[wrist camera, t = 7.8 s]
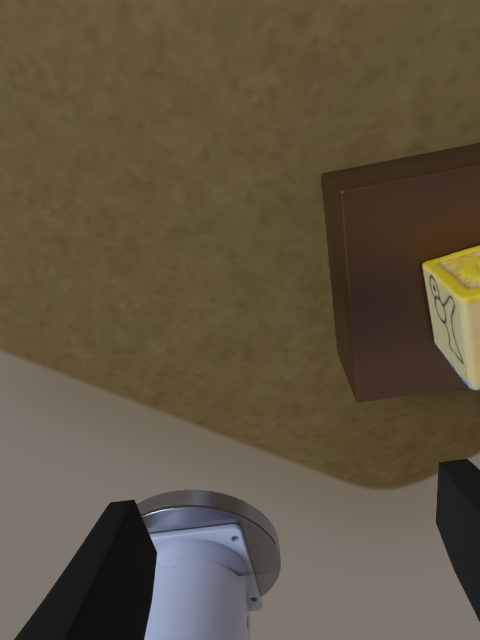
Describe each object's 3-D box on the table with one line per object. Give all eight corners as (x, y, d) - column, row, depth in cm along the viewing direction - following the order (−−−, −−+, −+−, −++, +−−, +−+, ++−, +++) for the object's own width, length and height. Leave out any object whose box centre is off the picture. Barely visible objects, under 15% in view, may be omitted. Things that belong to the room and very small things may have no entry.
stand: (520, 326, 18) (578, 372, 15) (337, 354, 19) (356, 404, 16) (548, 129, 14) (631, 135, 11) (320, 173, 15) (340, 190, 12)
